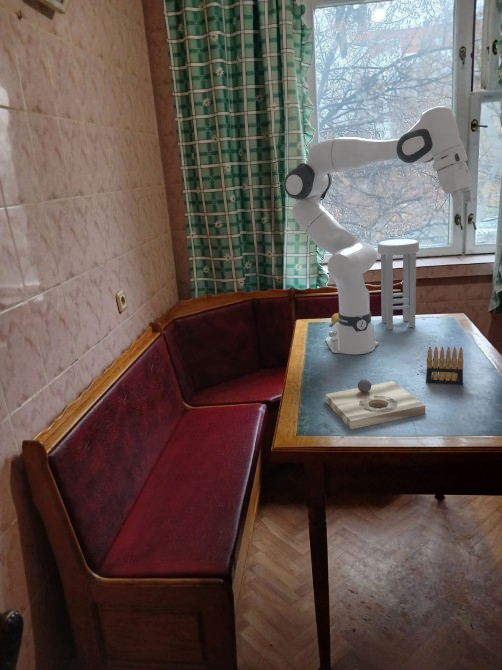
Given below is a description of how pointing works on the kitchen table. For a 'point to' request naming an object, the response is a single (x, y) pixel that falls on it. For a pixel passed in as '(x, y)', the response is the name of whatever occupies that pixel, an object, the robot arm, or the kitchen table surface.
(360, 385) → the ball
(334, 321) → the bagel
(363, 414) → the board
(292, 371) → the kitchen table surface
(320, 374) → the kitchen table surface
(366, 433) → the kitchen table surface
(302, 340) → the kitchen table surface
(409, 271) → the stool
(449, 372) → the ammunition clip
